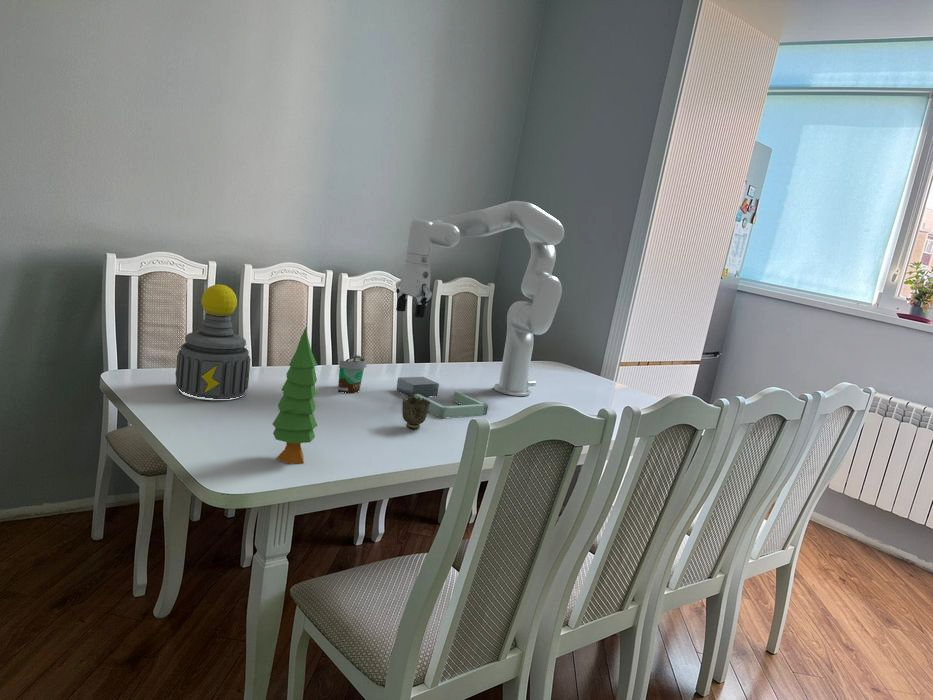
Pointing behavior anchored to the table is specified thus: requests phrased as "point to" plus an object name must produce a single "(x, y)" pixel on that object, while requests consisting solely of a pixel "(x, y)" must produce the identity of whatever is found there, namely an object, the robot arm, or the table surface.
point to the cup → (414, 411)
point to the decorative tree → (297, 404)
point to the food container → (351, 374)
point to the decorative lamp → (214, 351)
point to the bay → (466, 409)
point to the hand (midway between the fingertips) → (409, 314)
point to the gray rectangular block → (417, 386)
